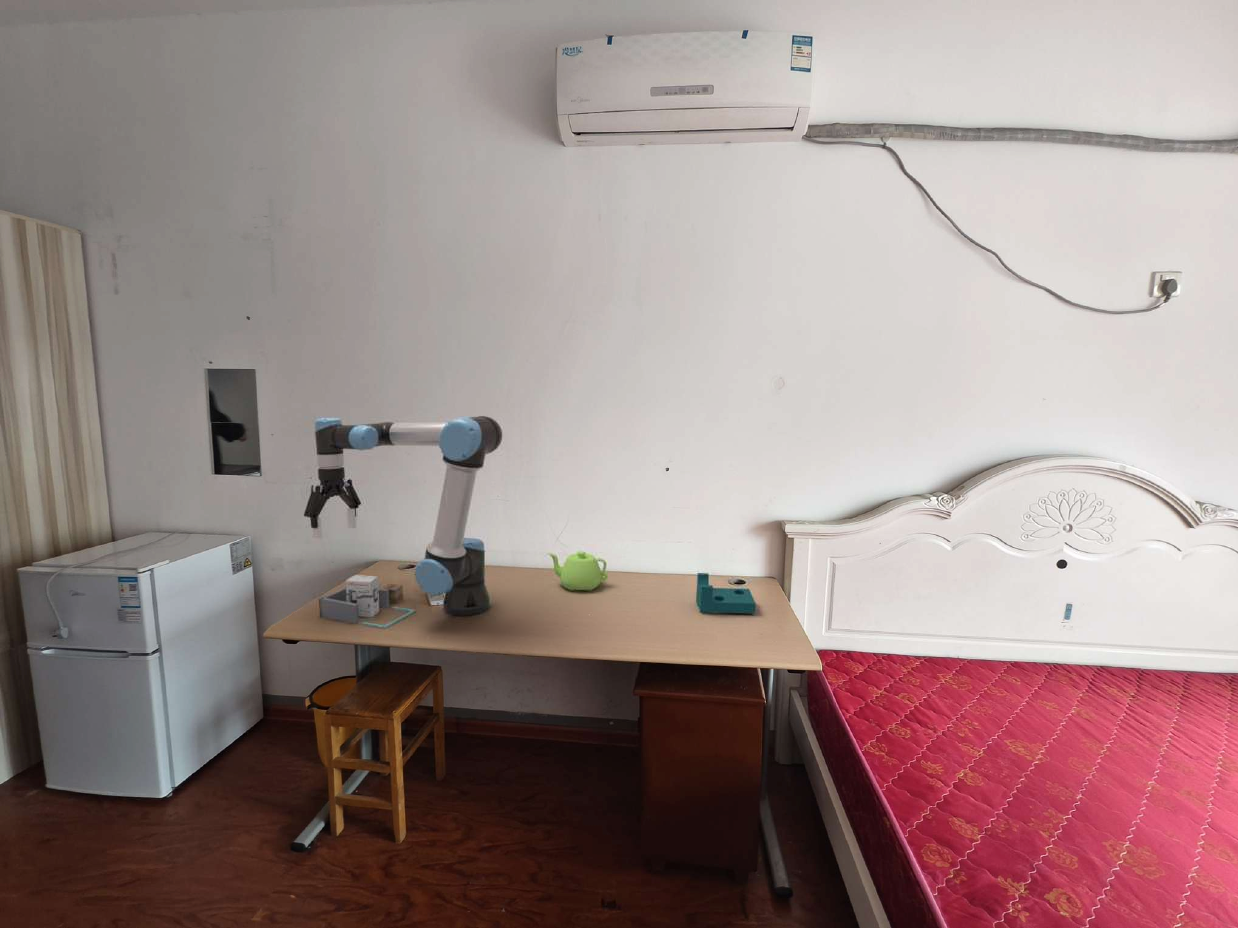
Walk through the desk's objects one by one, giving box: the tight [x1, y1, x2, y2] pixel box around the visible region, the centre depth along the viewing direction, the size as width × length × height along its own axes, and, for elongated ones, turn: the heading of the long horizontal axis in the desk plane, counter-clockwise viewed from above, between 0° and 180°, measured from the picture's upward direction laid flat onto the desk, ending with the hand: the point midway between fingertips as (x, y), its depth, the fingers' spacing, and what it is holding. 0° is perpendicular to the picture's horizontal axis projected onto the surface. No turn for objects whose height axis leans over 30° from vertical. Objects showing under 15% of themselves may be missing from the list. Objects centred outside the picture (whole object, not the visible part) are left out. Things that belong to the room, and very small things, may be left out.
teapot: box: [547, 550, 608, 592], centre depth 209 cm, size 22×15×13 cm
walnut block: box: [382, 583, 404, 605], centre depth 192 cm, size 5×5×5 cm
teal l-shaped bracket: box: [695, 572, 757, 614], centre depth 191 cm, size 18×11×10 cm, turn 90°
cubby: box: [318, 586, 390, 625], centre depth 182 cm, size 14×14×6 cm
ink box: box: [345, 574, 380, 618], centre depth 180 cm, size 9×5×12 cm, turn 85°
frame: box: [362, 606, 417, 630], centre depth 178 cm, size 8×14×1 cm, turn 161°
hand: (335, 532), depth 183 cm, fingers open, 13 cm apart
